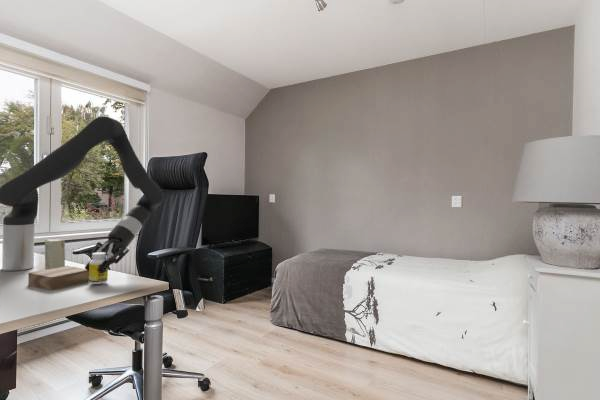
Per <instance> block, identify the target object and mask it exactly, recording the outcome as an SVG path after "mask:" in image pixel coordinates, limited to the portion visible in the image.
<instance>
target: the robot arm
mask: <svg viewBox="0 0 600 400" xmlns="http://www.w3.org/2000/svg"><path fill="white" fill-rule="evenodd" d="M103 142H108V143H109V144H110V146H111V147H112V148H113V149H114V151H115V152H116V154H117V156H118V158H119V160H120V164H121V168H122V170H123V173H124V174H125V176H126V177H127V179H128V181H129V183H130V184H131V186H132V187H133V188H134V189H136V190H137V189H139V190H140V192H141V193H142V194H143V195H141V197H140V198H139V200H137V202H136V204H135V205H133V207H132V208H131V209H130V210H129V211H128V212H127V213H126V215H125V216H124V217H123V218H121V220H119V222H117V224H116V225H115V226H114V227H113V229H112V230H111V231H110V232H109V233H108V235H107V237H108V239H107V240H106V241H105V242H103V243H101V242H100V241H99V242H97V243H96V244H95V246H94V247H93V248H92V250H91V252H90V253H89V255H88V256H89V257H90V260H89V261H88V262H87V264H86V265H85V266H84V269H86V270H88V271H89V262H90V261H91V260H92V259H93V258H92V253H96V252H105V253H106V257H105V259H106V261H104V262H103V263H102V264H101V265H100V267H99V268H98V269H97V271H98V272H99V273H104V272H105V271H106V269H107V268H108V269H109V267H110V266H111V265H113V264H118V263H119V262H120V261H121V260H122V259H123V258H124V257H125V256H126V255H127V254H128V253H129V252H130V249H129V248H128V247H129V246H130V244H131V243H132V242H133V240H134V239H135V238H136V236H137V235H138V234H139V233H140V231H141V229H142V227H143V226H144V225H145V224H146V223H147V221H149V218H150V216H151V214H153V212H154V211H155V210H156V209H157V208H158V207H159V206H160V205H161V204H162V203H163V202H164V199H165V195H164V191H163V190H162V189H161V187H160V186H159V185H158V184H157V183H156V182H155V181H154V179H152V178H151V177H150V175H149V174H148V172H147V170H146V169H145V167H144V166H143V164H142V163H141V161H140V159H139V157H138V155H137V154H136V153H135V151H134V149H133V146H132V145H131V142H130V139H129V137H128V135H127V133H126V130H125V128H124V125H123V124H122V123H121V122H120V121H118V120H117V119H115V118H113V117H110V116H106V115H101V116H100V115H98V116H97V117H95V118H94V119H92V120H91V121H90V122H89V123H88V124H86V126H84V127H83V129H81V130H80V131H79V132H78V133H77V134H75V135H74V136H73V137H72V138H70V139H68V140H67V141H66V142H64V143H63V144H61V145H60V146H59V147H58V148H56V149H54V150H52V151H51V152H50V153H49V154H47V155H46V156H45V157H44V158H43V159H41V160H40V161H38V162H37V163H36V164H34V165H32V166H31V167H30V168H29V169H27V170H26V171H24V172H23V173H21V174H20V175H17V176H15V177H14V178H12V179H10V180H9V181H7V182H5V183H3V185H1V186H0V204H1V205H3V206H7V207H11V208H12V209H11V211H10V212H9V213H8V214H7V215H5V216H4V217H3V220H2V221H3V222H2V224H3V225H2V258H1V260H2V265H1V268H2V270H3V271H5V272H7V271H8V272H11V271H25V270H29V269H33V268H34V267H35V262H34V261H35V221H36V218H37V216H38V209H39V208H38V205H39V191H38V188H41V187H43V186H44V185H47V184H49V183H52V182H55V181H57V180H58V179H59V180H60V179H61V178H63V177H65V176H67V175H68V174H70V173H71V172H73V171H74V170H75V169H77V168H78V167H79V166H80V165H81V164H82V163H83V161H84V159H85V158H86V156H87V155H88V153H89V151H91V150H92V149H94V148H95V147H96V146H98V145H100V144H101V143H103Z"/></svg>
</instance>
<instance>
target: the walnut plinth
mask: <svg viewBox="0 0 600 400" xmlns="http://www.w3.org/2000/svg"><path fill="white" fill-rule="evenodd" d="M27 276H28V277H27V278H28V279H27V280H28V283H27V285H28V286H31V287H35V288H40V289H45V290H48V291H55V290H58V289H59V290H60V289H63V288H67V287H71V286H74V285H79V284H83V283H89V271H88V270H86V269H85V268H82V267H77V266H70V265H65V266H62V267H57V268H51V269H46V270H45V269H41V270H37V271H31V272H28V275H27Z"/></svg>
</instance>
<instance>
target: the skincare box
mask: <svg viewBox="0 0 600 400" xmlns="http://www.w3.org/2000/svg"><path fill="white" fill-rule="evenodd" d="M65 243H66V240H64V239H59V238H54V239H52V238H51V239H45V240H44V263H45V264H44V270H46V269H51V268H57V267H62V266H66V265H65V264H66V263H65V261H66V255H65V253H66V252H65V251H66V249H65V248H66V247H65V245H66V244H65Z"/></svg>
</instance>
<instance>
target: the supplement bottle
mask: <svg viewBox="0 0 600 400" xmlns="http://www.w3.org/2000/svg"><path fill="white" fill-rule="evenodd" d="M106 257H107V256H106V253H105V252H102V251H101V252H96V253H92V258H93V259H92V260H91V259H90V260H91V261H90V260H89V261H90V262H89V261H88V262H89V281H88V283H89V284H90V285H102V284H105V283H107V281H108V274H109V273H108V272H109V271H108V270H109V267H108V268H107V269H106V271H105V272H104V273H99V272H98V271H97V269H98V268H99V267H100V265H101V264H102V263H103V262H104V261H106Z"/></svg>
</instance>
